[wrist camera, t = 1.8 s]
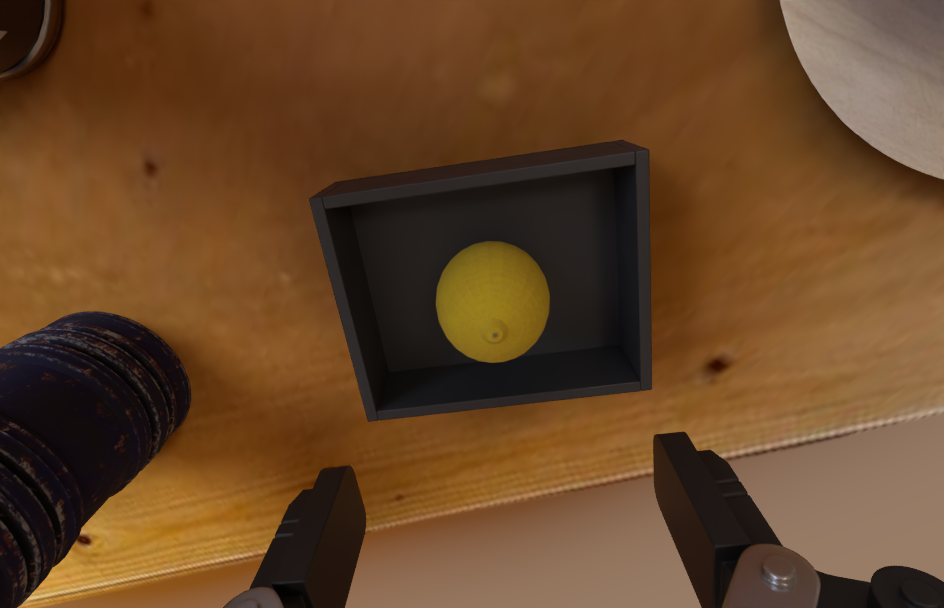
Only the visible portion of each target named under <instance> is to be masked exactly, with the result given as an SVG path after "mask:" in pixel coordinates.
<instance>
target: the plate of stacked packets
mask: <svg viewBox="0 0 944 608" xmlns="http://www.w3.org/2000/svg"><path fill="white" fill-rule="evenodd" d="M780 4H781V8H782V11H783V15H784V19H785V23H786V26H787V29H788V32H789V36H790V38H791V41H792V44H793V46H794V49H795V51H796V53H797V56H798V58H799V60H800V62H801V64H802V66H803V68H804V69H805V71H806V73H807V75H808V77H809V78H810V80H811V82H812V84H813V85H814V86H815V88H816V89H817V91H818V92H819V94H820V95H821V97H822V98H823V99H824V100H825V102H826V103H827V104H828V105H829V107H830V108H831V109H832V110H833V111H834V112H835V113H836V115H837V116H838V117H839V118H840V119H841V120H842V121H843V122H844V123H845V124H846V125H847V126H848V127H849V128H850V129H851V130H852V131H853V132H855V133H856V134H857V135H859V136H860V137H861V138H862V139H864V140H865V141H866V142H868V143H869V144H870V145H871V146H873V147H874V148H876V149H877V150H879V151H880V152H882V153H883V154H885V155H887V156H889V157H890V158H892V159H894V160H896V161H898V162H900V163H901V164H904V165H906V166H908V167H910V168H913V169H915V170H917V171H920V172H922V173H925V174H928V175H931V176H934V177H937V178H940V179H944V0H780Z"/></svg>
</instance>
